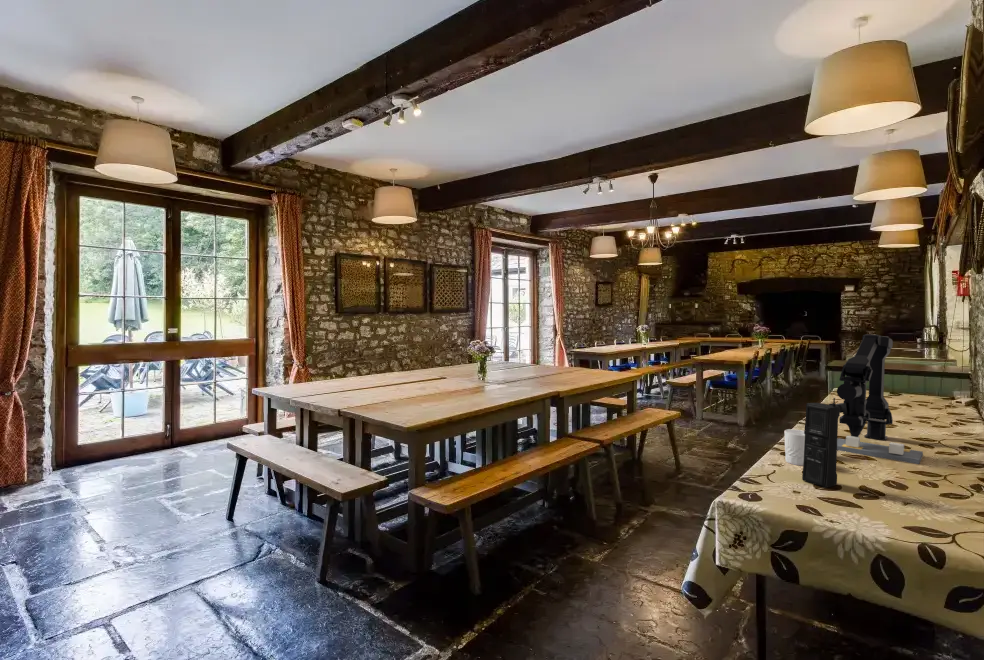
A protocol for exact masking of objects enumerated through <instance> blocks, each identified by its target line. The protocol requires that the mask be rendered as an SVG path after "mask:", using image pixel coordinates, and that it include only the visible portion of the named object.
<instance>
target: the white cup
mask: <svg viewBox="0 0 984 660" xmlns="http://www.w3.org/2000/svg"><path fill="white" fill-rule="evenodd" d="M804 443H805V434H804V430H801V429H793V428H792V429H789V428H788V429H785V430H784V453H785V462H786V463H788V464H791V465H795V466H801V467H803V462H804Z"/></svg>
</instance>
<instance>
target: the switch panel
mask: <svg viewBox="0 0 984 660" xmlns="http://www.w3.org/2000/svg"><path fill="white" fill-rule="evenodd" d="M837 451H841V452H845V451H846V453H852V454H857V455H863V456H868V457H875V458H881V459H886V460H892V461H898V462H903V463H908V464H909V463H910V464H916V465H919V464H921V463H920V462H921V461H922V459H923V456H924V455H923V454H924V451H921V450H916V449H911V448H909V449H907V448H904V454H903V455H899V454H893V453H889V445H884V444H876V443H871V442H866V441H865V442H864V441H860V446H859V447H852V446H846V438H845V439H844V438H838V437H837Z"/></svg>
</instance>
